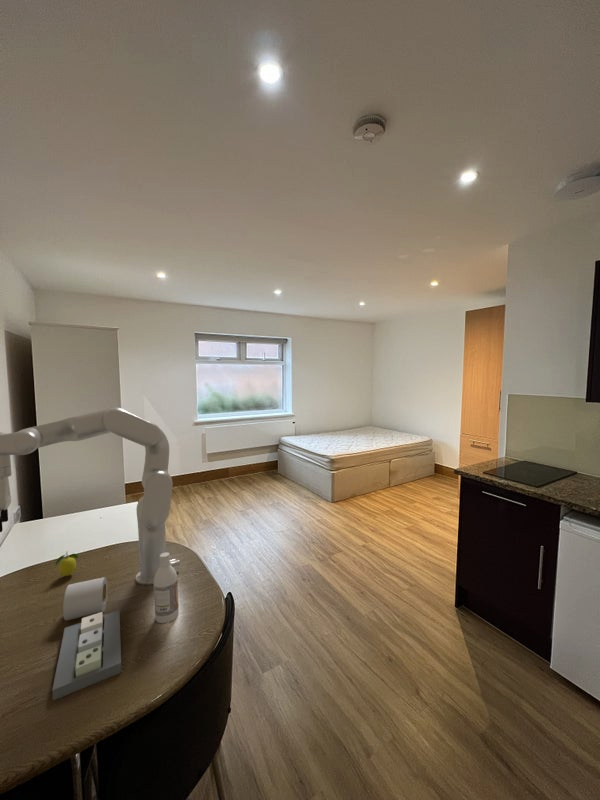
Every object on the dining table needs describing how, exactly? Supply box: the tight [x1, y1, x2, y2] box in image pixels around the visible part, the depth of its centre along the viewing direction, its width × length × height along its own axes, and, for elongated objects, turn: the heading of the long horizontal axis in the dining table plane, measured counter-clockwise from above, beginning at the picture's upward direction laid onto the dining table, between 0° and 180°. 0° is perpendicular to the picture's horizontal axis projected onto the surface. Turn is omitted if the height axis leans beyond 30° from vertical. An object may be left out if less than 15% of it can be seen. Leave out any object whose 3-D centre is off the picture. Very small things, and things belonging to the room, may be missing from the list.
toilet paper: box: [62, 576, 109, 622], centre depth 104 cm, size 10×10×10 cm
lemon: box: [55, 552, 79, 577], centre depth 125 cm, size 7×6×10 cm
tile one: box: [80, 612, 104, 634], centre depth 95 cm, size 5×5×3 cm
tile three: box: [75, 645, 103, 678], centre depth 82 cm, size 5×5×3 cm
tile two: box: [78, 627, 103, 653], centre depth 88 cm, size 5×5×3 cm
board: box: [51, 609, 122, 701], centre depth 88 cm, size 14×23×2 cm, turn 30°
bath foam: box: [153, 551, 180, 624], centre depth 101 cm, size 7×7×20 cm
